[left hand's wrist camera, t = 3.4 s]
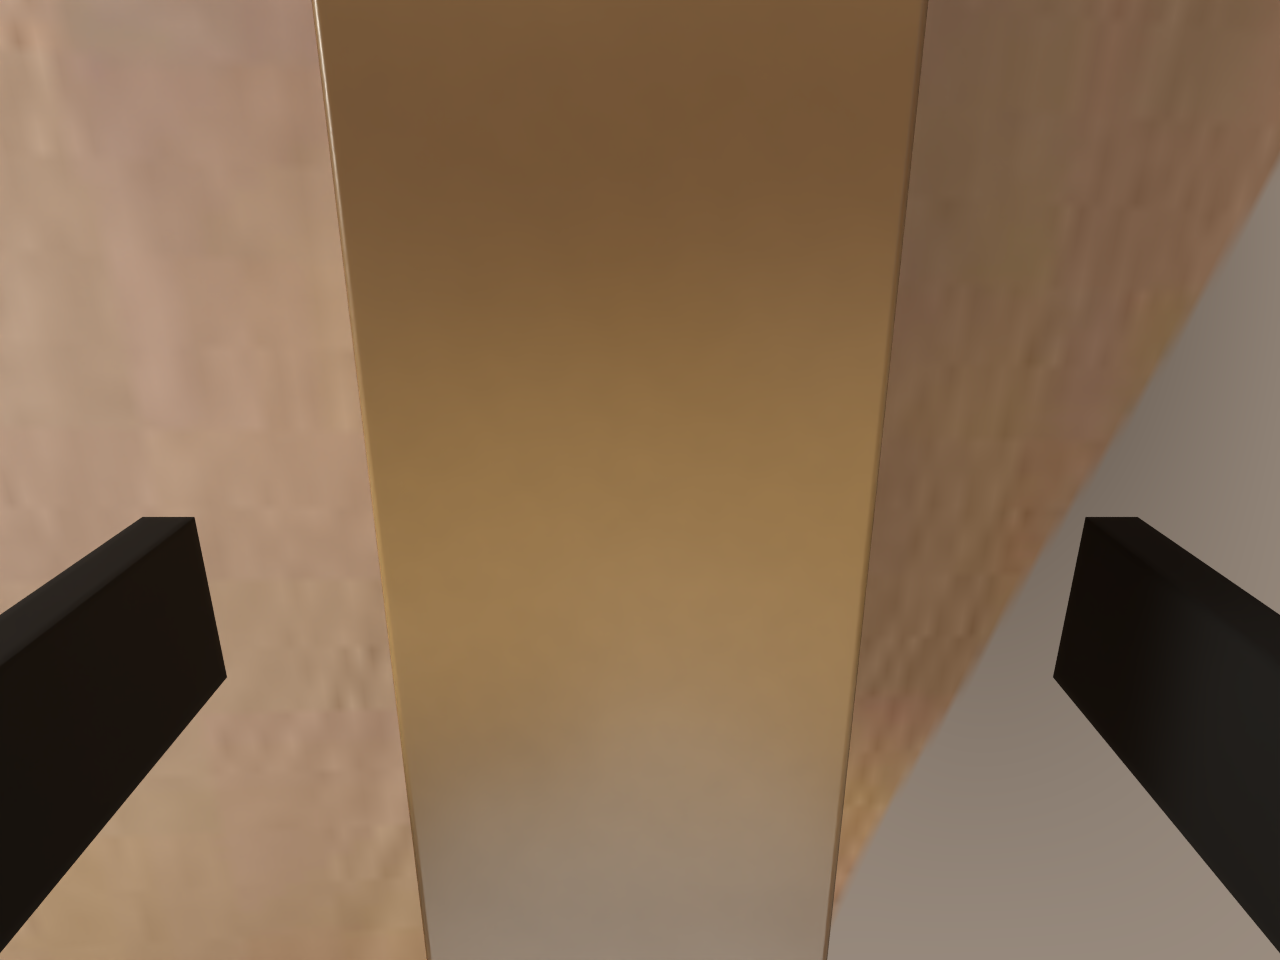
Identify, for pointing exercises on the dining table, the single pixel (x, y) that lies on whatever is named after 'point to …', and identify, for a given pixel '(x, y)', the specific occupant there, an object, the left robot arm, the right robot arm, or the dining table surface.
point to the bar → (623, 445)
